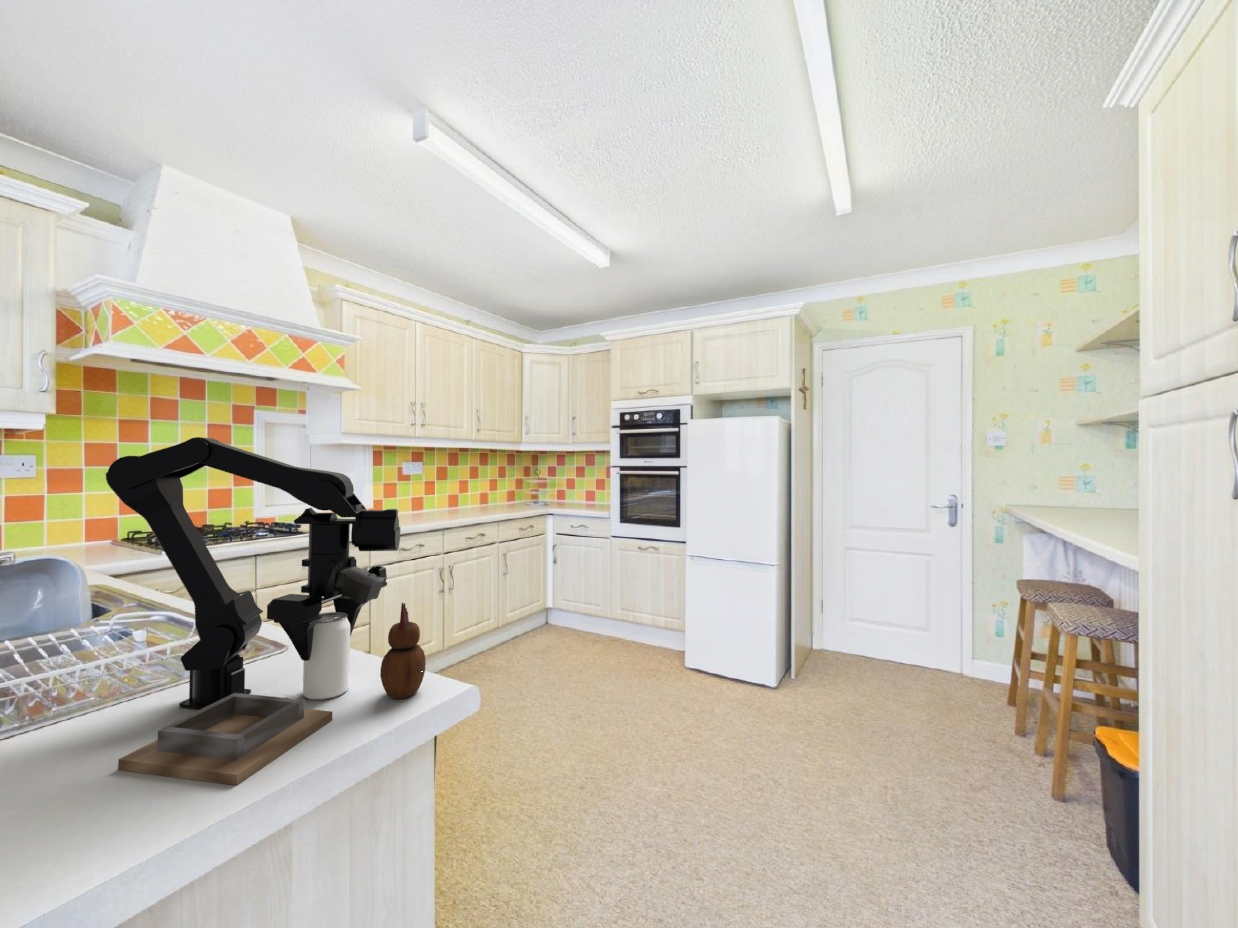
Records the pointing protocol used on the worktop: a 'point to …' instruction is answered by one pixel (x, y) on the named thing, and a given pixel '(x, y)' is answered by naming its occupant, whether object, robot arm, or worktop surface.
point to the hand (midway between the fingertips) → (326, 649)
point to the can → (328, 658)
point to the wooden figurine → (403, 659)
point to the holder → (227, 739)
